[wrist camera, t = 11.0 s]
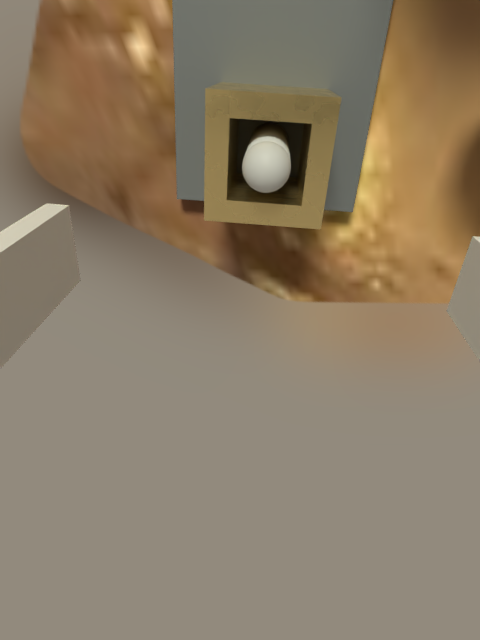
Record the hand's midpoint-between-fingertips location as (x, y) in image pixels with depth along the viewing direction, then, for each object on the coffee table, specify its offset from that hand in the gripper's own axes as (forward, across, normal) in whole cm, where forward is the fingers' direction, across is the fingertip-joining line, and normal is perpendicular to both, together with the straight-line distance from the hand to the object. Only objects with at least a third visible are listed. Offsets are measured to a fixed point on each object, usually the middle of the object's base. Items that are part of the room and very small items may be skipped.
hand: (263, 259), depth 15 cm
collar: (+23, 0, 0) cm, 23 cm away
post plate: (+25, 0, -6) cm, 25 cm away
